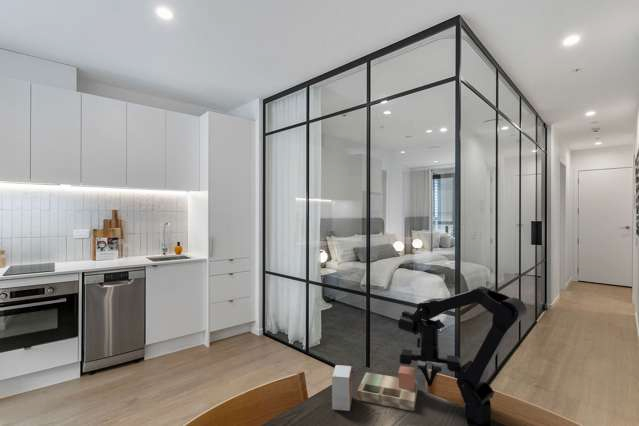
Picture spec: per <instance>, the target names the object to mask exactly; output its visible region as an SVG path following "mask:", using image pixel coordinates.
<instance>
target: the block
mask: <svg viewBox="0 0 639 426" xmlns="http://www.w3.org/2000/svg"><path fill="white" fill-rule="evenodd" d="M398 378H399V388H404V389H410V390H414V389H415V380H416V367H410V366H405V365H404V366H403V365H400V366H399V369H398Z"/></svg>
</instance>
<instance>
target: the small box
mask: <svg viewBox="0 0 639 426" xmlns="http://www.w3.org/2000/svg"><path fill="white" fill-rule="evenodd" d="M333 369H334V370H333V373H332V375H331V395H332V398H331V402H332V407H331V408H332V410H336V411H346V412H350V411H351V405H352V401H353V400H352V399H353V379H352V378H353V371H352V369H353V366H352V365H351V366H350V365H341V364H336V365H335V366H334V368H333Z"/></svg>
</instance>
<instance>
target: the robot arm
mask: <svg viewBox="0 0 639 426" xmlns="http://www.w3.org/2000/svg"><path fill="white" fill-rule="evenodd" d="M476 303H477V304H479V305H480V306H482V307H483V308H484V309H485V310H486V311H487V312H489V313H491V314H492V321H491V322H492V323H491V326H490V328H489V330H488V332H487V334H486V336H485V338H484V340H483V342H482V344H481V345H480V348H479V350H478V351H477V353H476V355H475V357H474V359H473V360H469V361H467V362H465V363H464V364H461V358H460V357H459V356H456V355H449V354H446V358H444V357H443V358H442V357H439V356H440V347H439V330H441V329H442V328H445V327H446V326H445V324H444V323H443V322H442V321H441V319H439V318H438V319H436V320H433V319H434V318H436V317H439V316H440V315H442V314H444V313H446V312H448V311H452V310H454V309H458V308H462V307H465V306H468V305H473V304H476ZM416 306H417V307H416V310H415V311H414V313H413V312H410V311H407V310H403V311H402V312H401V316H400V317H399V320H398V323H397V325H398V328H399V330H400V331H403V332H405V333H408V334H412V335H415V336H416V335H419V337H417V338H416V339H417V340H416V348H418V349H420V350H419V351H420V352H419V353H420V354H415V353H414V350H413V349H406V348H402V349H401V350H400V354H399V363H400V364H401V365H408V366H410V365H411V364H412V363H413V361H415V362H417V369H419V370H420V371H421V372H422V374H423V376H424V378H425V381H426V383H427V386H428V387H431V388H432V386H433V383H434V380H435V377H436V376H437V374H438V373H441V372H442V366H447V367H446V368H447V369H448V370H449V372H454V373H458V374H456V375H455V377H456V378H457V379H456V385H457V387H458V389H459V391H460V394H461V397H462V400H463V409H464V410H463V411H464V413H463V414H464V419H466V425H468V426H471V425H472V426H493V425H492V405H491V399H492V398H494V395H495V391H494V390H493V388H492V387H491V385H490V384H489V383H488V382H487V381H488V378H489V368H490V366H491V365H492V363H493V361H494V360H495V358H496V356H497V355H498V353H499V350H500V348H501V347H502V345H503V343H504V341H505V340H506V337H507V336H508V334H509V333H510V331H512V329H513V328H514V327H515V326H516V325H518V324H519V322H520V321H521V320H523V318H524V317H525V316H526V315H527V312H528V309H527V307H526V305H525V303H524V302H523V301H522V300H521V299H519V298H516V297H510V296H508V295H506V294H503V293H501V292H498V291H495V290H492V289H489V288H488V287H486V286H478V287H475V288H472V289H471V290H468V291H465V292H461V293H458V294H455V295H452V296H448V297H444V298H440V297H437V298H431V299H427V300H424V301H421V302H419V303H417V305H416ZM429 363H430V364H431V369H430V371H429Z"/></svg>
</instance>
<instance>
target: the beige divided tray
mask: <svg viewBox="0 0 639 426" xmlns="http://www.w3.org/2000/svg"><path fill="white" fill-rule="evenodd" d="M356 396H357V397H356V399H357V401H361V402H366V403H367V402H368V403H372V404H376V405H383V406H387V407H392V408H397V409H402V410H407V411H412V412H414V411H415V409H416V400H417V396H418V380H416V379H415V389H414V390H410V389H404V388H399V376H397V377H396V376H391V375H384V374H379V373H373V372H365V373H364V376H363V378H362V380H361V382H360V384H359V386H358V389H357V392H356Z"/></svg>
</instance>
